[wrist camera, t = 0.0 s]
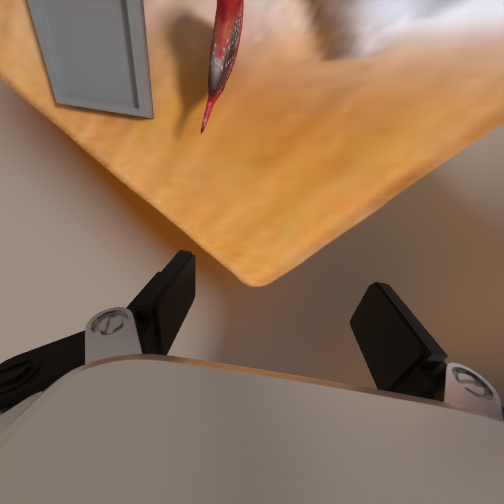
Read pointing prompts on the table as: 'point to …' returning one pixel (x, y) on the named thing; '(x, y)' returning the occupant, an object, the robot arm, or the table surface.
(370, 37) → the table surface
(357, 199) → the table surface
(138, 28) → the tray
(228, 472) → the robot arm
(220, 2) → the decorative bird figurine
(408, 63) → the table surface
